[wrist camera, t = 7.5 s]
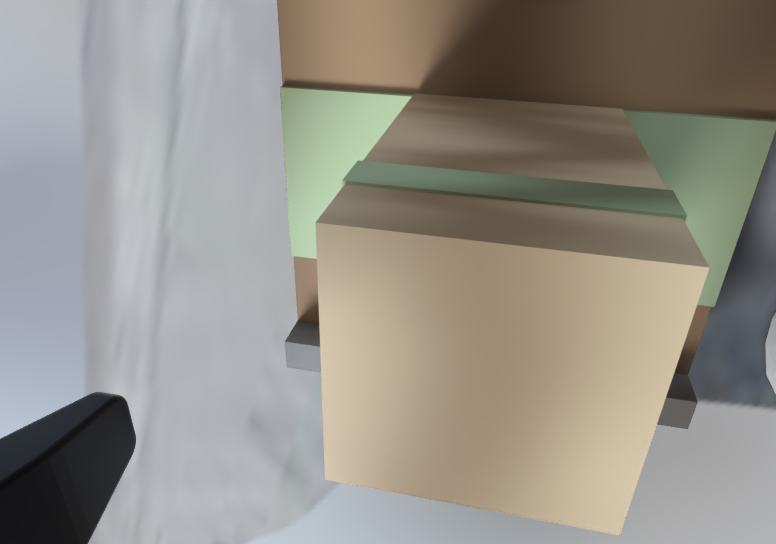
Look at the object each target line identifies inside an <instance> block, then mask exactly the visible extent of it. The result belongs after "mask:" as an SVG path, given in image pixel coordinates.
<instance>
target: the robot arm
mask: <svg viewBox="0 0 776 544" xmlns="http://www.w3.org/2000/svg"><path fill="white" fill-rule="evenodd" d="M135 444H136V435H135V431H134V427H133V423H132V419H131V415H130V411H129V407H128V404H127V401H126V400H125V399H124V397H122V396H120V395H115V394H109V393H103V392H95V393H92V394H90V395H88V396H86V397H83V398H81V399H79V400H77V401H75V402H73V403H72V404H69V405H67V406H65V407H63V408H61V409H59V410H57V411H55V412H53V413H51V414H49V415H47V416H45V417H43V418H41V419H39V420H37V421H35V422H33V423H31V424H29V425H27V426H25V427H23V428H21V429H19V430H17V431H15V432H13V433H11V434H9V435H7V436H5V437H3V438H1V439H0V544H88V542H89V540H90V538H91V536H92V535H93V533H94V531H95V529H96V527H97V525H98V523H99V521H100V519H101V517H102V515H103V513H104V511H105V509H106V507H107V505H108V503H109V501H110V499H111V497H112V495H113V493H114V491H115V489H116V487H117V485H118V483H119V481H120V479H121V477H122V475H123V473H124V471H125V469H126V467H127V465H128V463H129V461H130V459H131V457H132V455H133V452H134V449H135Z"/></svg>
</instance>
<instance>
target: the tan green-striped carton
mask: <svg viewBox="0 0 776 544" xmlns="http://www.w3.org/2000/svg"><path fill="white" fill-rule="evenodd" d="M686 218H687V214H686V212H685V211H684V209H683V207H682V205H681V204H680V202H679V200H678V198H677V197H676V195H675V193H674V191H673V190H667V189H666V187H665V185H664V184H663V182H662V180H661V178H660V176H659V175H658V173H657V171H656V169H655V167H654V165H653V164H652V162H651V160H650V158H649V156H648V155H647V153H646V151H645V149H644V147H643V145H642V144H641V142H640V140H639V138H638V136H637V134H636V133H635V131H634V129H633V127H632V125H631V124H630V122H629V120H628V118H627V116H626V114H625V113H624V111H623V109H619V108H606V107H592V106H579V105H565V104H552V103H538V102H525V101H511V100H498V99H484V98H471V97H457V96H444V95H430V94H417V93H414V95H413V96H412V97H411V99H410V100H409V101H408V103H407V104H406V105H405V106H404V108H403V109H402V110H401V112H400V113H399V114H398V116H397V117H396V118H395V119H394V121H393V122H392V123H391V125H390V126H389V127H388V129H387V130H386V131H385V132H384V134H383V135H382V136H381V138H380V139H379V140H378V142H377V143H376V144H375V146H374V147H373V148H372V149H371V151H370V152H369V153H368V155H367V156H366V157H365V159H364V160H363V161H360V160H358V161H357V162H356V163H355V165H354V166H353V167H352V168H351V170H350V171H349V172H348V174H347V175H346V176H345V177H344V179H343V180H342V189H341V190H340V191H339V192H338V194H337V195H336V196H335V198H334V199H333V200H332V202H331V203H330V204H329V205H328V207H327V208H326V209H325V211H324V212H323V213H322V215H321V216H320V217H319V218H318V220H317V221H316V222H315V224H316V250H317V276H318V303H319V329H320V355H321V381H322V407H323V434H324V460H325V479H326V480H331V481H336V482H342V483H347V484H353V485H357V486H363V487H368V488H373V489H379V490H384V491H389V492H394V493H399V494H405V495H410V496H416V497H420V498H426V499H432V500H436V501H442V502H447V503H453V504H458V505H463V506H468V507H473V508H478V509H484V510H489V511H494V512H499V513H505V514H510V515H516V516H521V517H526V518H531V519H536V520H542V521H547V522H552V523H557V524H563V525H568V526H573V527H578V528H584V529H589V530H594V531H599V532H605V533H610V534H615V535H620V532H621V529H622V526H623V523H624V521H625V518H626V515H627V512H628V509H629V505H630V503H631V500H632V497H633V494H634V491H635V488H636V485H637V482H638V479H639V476H640V473H641V470H642V467H643V464H644V461H645V458H646V455H647V452H648V449H649V446H650V443H651V440H652V437H653V434H654V431H655V428H656V425H657V423H658V420H659V417H660V414H661V411H662V408H663V405H664V402H665V399H666V396H667V393H668V390H669V387H670V384H671V381H672V378H673V375H674V372H675V369H676V366H677V363H678V360H679V357H680V354H681V351H682V348H683V345H684V342H685V339H686V336H687V333H688V330H689V328H690V325H691V322H692V319H693V316H694V313H695V310H696V307H697V304H698V301H699V298H700V295H701V292H702V289H703V286H704V283H705V280H706V277H707V274H708V271H709V268H710V267H709V265H708V264H707V262H706V260H705V258H704V256H703V255H702V253H701V251H700V249H699V247H698V245H697V244H696V242H695V240H694V238H693V236H692V235H691V233H690V231H689V229H688V227H687V225H686V224H685V221H686Z"/></svg>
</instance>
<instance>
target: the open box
mask: <svg viewBox="0 0 776 544" xmlns="http://www.w3.org/2000/svg"><path fill="white" fill-rule="evenodd" d="M277 7H278V23H279V38H280V53H281V68H282V84H283V86H281V87H280V96H281V111H282V126H283V141H284V155H285V170H286V185H287V200H288V215H289V229H290V244H291V256H294V267H295V283H296V298H297V313H298V321H297V323H296V325H295V326H294V328H293V329H292V331H291V333H290V334H289V336H288V338H287V339H286V341H285V349H286V361H287V367H289V368H296V369H302V370H309V371H315V372H321V355H320V329H319V303H318V276H317V250H316V224H315V222H316V221H317V220H318V218H319V217H320V216H321V215H322V213H323V212H324V211H325V209H326V208H327V207H328V205H329V204H330V203H331V202H332V200H333V199H334V198H335V196H336V195H337V194H338V192H339V191H340V190H341V189H342V180H343V179H344V177H345V176H346V175H347V174H348V172H349V171H350V170H351V168H352V167H353V166H354V165H355V163H356V162H357V161H358V160H360V161H363V160H364V159H365V157H366V156H367V155H368V153H369V152H370V151H371V149H372V148H373V147H374V146H375V144H376V143H377V142H378V140H379V139H380V138H381V136H382V135H383V134H384V132H385V131H386V130H387V129H388V127H389V126H390V125H391V123H392V122H393V121H394V119H395V118H396V117H397V116H398V114H399V113H400V112H401V110H402V109H403V108H404V106H405V105H406V104H407V103H408V101H409V100H410V99H411V97H412V96H413V95H414V93H417V94H430V95H444V96H457V97H471V98H484V99H498V100H511V101H525V102H538V103H552V104H565V105H579V106H592V107H606V108H619V109H623V111H624V113H625V114H626V116H627V118H628V120H629V122H630V124H631V125H632V127H633V129H634V131H635V133H636V134H637V136H638V138H639V140H640V142H641V144H642V145H643V147H644V149H645V151H646V153H647V155H648V156H649V158H650V160H651V162H652V164H653V165H654V167H655V169H656V171H657V173H658V175H659V176H660V178H661V180H662V182H663V184H664V185H665V187H666V189H667V190H673V191H674V193H675V195H676V197H677V198H678V200H679V202H680V204H681V205H682V207H683V209H684V211H685V212H686V214H687V218H686V221H685V224H686V225H687V227H688V229H689V231H690V233H691V235H692V236H693V238H694V240H695V242H696V244H697V245H698V247H699V249H700V251H701V253H702V255H703V256H704V258H705V260H706V262H707V264H708V265H709V267H710V268H709V271H708V274H707V277H706V280H705V283H704V286H703V289H702V292H701V295H700V298H699V301H698V304H697V307H696V310H695V313H694V316H693V319H692V322H691V325H690V328H689V330H688V333H687V336H686V339H685V342H684V345H683V348H682V351H681V354H680V357H679V360H678V363H677V366H676V369H675V372H674V375H673V378H672V381H671V384H670V387H669V390H668V393H667V396H666V399H665V402H664V405H663V408H662V411H661V414H660V417H659V420H658V423H657V424H658V425H666V426H671V427H679V428H684V429H688V427H689V424H690V422H691V419H692V416H693V413H694V411H695V408H696V405H697V403H698V402H697V399H696V396H695V394H694V391H693V388H692V385H691V383H690V380H689V377H688V373H689V370H690V367H691V364H692V361H693V358H694V355H695V352H696V350H697V347H698V344H699V341H700V338H701V335H702V332H703V329H704V326H705V323H706V321H707V318H708V315H709V312H710V309H711V306H712V307H715V304H716V301H717V298H718V295H719V293H720V290H721V287H722V284H723V281H724V278H725V275H726V272H727V270H728V267H729V264H730V261H731V258H732V255H733V252H734V249H735V247H736V244H737V241H738V238H739V235H740V232H741V229H742V226H743V224H744V221H745V218H746V215H747V212H748V209H749V206H750V203H751V201H752V198H753V195H754V192H755V189H756V186H757V183H758V180H759V178H760V175H761V172H762V169H763V166H764V163H765V160H766V157H767V155H768V152H769V149H770V146H771V143H772V140H773V137H774V134H775V132H776V0H277Z"/></svg>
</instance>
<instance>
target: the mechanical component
mask: <svg viewBox="0 0 776 544" xmlns="http://www.w3.org/2000/svg"><path fill="white" fill-rule="evenodd" d="M765 344H766V375H767V377H768V379H769V381H770V383H771V385H772V387H773V389H774V392H775V394H776V313H775V315H774V317H773V318H772V321H771V325H770V329H769V332H768V336H767V339H766V343H765Z"/></svg>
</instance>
